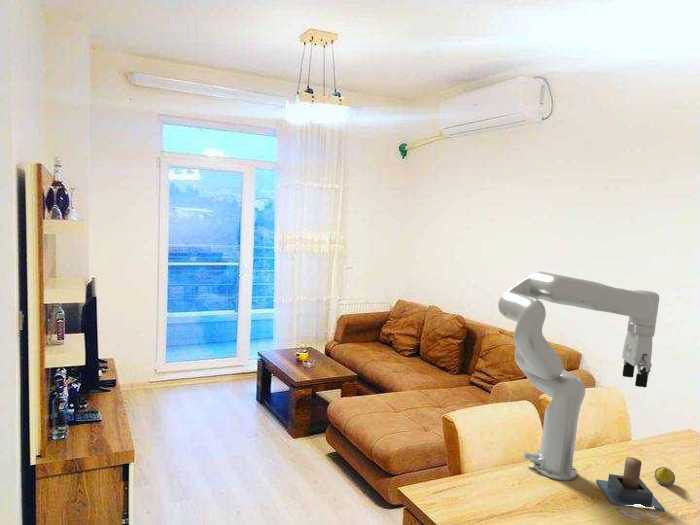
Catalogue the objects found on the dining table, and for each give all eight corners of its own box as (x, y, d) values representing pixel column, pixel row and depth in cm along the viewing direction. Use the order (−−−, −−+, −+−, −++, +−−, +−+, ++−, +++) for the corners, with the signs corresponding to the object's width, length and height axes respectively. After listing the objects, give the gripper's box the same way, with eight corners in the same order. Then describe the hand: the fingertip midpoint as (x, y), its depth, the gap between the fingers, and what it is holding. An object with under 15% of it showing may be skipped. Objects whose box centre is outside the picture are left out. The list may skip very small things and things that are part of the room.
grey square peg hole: (611, 504, 141) (612, 491, 141) (595, 481, 153) (597, 469, 153) (664, 511, 140) (666, 498, 139) (644, 488, 151) (646, 476, 151)
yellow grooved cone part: (678, 487, 155) (679, 474, 148) (660, 491, 156) (660, 479, 150) (669, 470, 159) (669, 457, 152) (651, 474, 160) (651, 461, 153)
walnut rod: (624, 496, 145) (629, 462, 144) (619, 488, 149) (623, 456, 148) (639, 498, 144) (644, 464, 143) (633, 490, 148) (638, 458, 147)
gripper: (617, 322, 170) (611, 372, 172) (640, 334, 153) (633, 389, 154) (641, 324, 169) (634, 374, 171) (666, 337, 152) (659, 392, 154)
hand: (634, 381), depth 163 cm, fingers open, 9 cm apart
